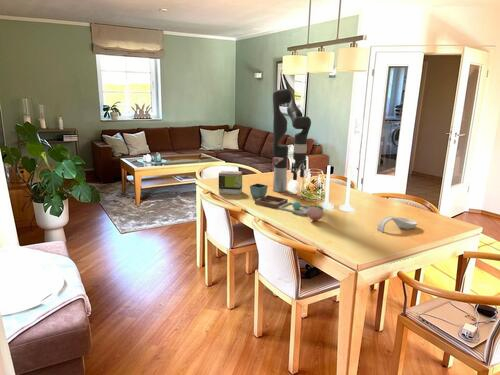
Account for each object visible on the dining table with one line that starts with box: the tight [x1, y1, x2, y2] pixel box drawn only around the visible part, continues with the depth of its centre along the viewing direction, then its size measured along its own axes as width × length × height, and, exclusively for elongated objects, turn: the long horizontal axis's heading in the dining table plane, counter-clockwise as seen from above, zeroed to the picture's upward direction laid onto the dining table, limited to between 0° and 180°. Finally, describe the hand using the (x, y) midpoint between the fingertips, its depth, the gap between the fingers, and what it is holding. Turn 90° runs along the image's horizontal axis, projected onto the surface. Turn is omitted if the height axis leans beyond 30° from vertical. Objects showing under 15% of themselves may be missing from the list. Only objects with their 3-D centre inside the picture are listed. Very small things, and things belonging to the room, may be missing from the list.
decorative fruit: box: [306, 203, 324, 222], centre depth 205 cm, size 9×8×10 cm
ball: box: [292, 200, 302, 211], centre depth 223 cm, size 5×5×5 cm
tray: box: [277, 201, 309, 217], centre depth 223 cm, size 14×18×2 cm
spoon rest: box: [376, 215, 419, 233], centre depth 196 cm, size 24×12×7 cm, turn 115°
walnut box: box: [254, 194, 289, 209], centre depth 233 cm, size 15×15×3 cm
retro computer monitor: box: [218, 170, 243, 196], centre depth 257 cm, size 15×10×15 cm
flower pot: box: [249, 182, 268, 200], centre depth 245 cm, size 9×9×9 cm
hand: (298, 178), depth 218 cm, fingers open, 8 cm apart
